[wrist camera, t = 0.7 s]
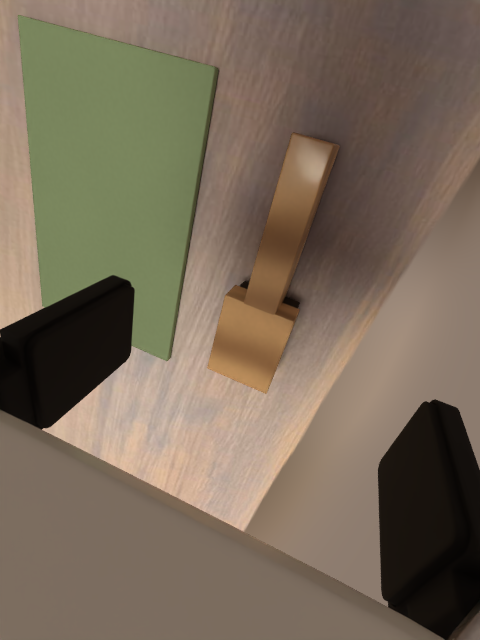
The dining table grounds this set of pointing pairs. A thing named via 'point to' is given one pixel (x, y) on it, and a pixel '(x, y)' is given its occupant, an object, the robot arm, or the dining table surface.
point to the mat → (114, 167)
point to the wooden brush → (273, 271)
